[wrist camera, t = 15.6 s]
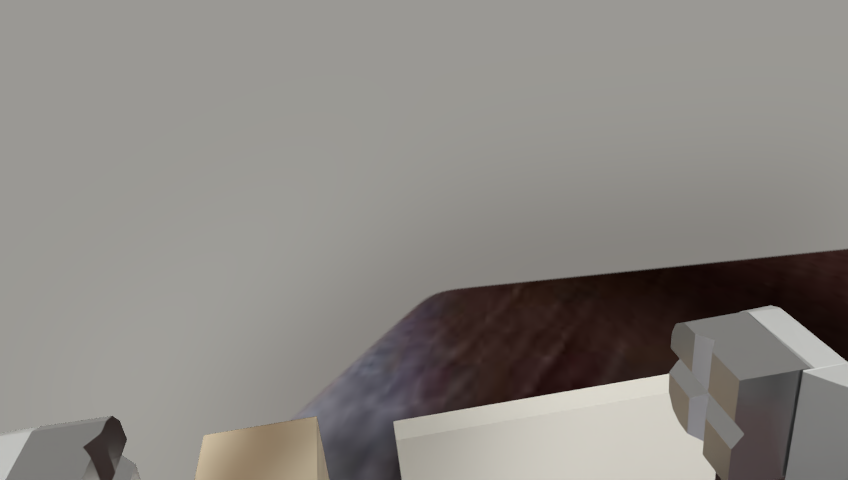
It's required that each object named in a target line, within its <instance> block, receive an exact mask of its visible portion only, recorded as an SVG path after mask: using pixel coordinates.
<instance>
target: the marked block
mask: <svg viewBox="0 0 848 480" xmlns="http://www.w3.org/2000/svg"><path fill="white" fill-rule="evenodd" d="M195 480H329V476H328V470H327V465H326V460H325V455H324V450H323V445H322V440H321V435H320V430H319V425H318V420H317V416H315V417H309V418H303V419H297V420H291V421H286V422H280V423H274V424H269V425H262V426H256V427H250V428H244V429H238V430H232V431H226V432H220V433H214V434H208V435H204V437H203V442H202V447H201V451H200V456H199V461H198V465H197V470H196V475H195Z"/></svg>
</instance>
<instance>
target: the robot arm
mask: <svg viewBox="0 0 848 480" xmlns="http://www.w3.org/2000/svg"><path fill="white" fill-rule="evenodd" d="M671 348H672V350H673V351H674V352H675V353H676V354H677V356H678V357H679V358H680V359H679V360H678V361H677V363H676V364H675V365H674V367H673V368H672V369H671V371H670V372H669V394H670V399H671V403H672V408H673V411H674V413H675V415H676V417H677V419H678V421H679V423H680V424H681V426H682V427H683V428H684V430H685V431H686V433H687V434H689V435H691V436H693V437H696V438H698V439H700V440H702V441H704V442H703V456H704V457H705V458H706V460H707V461H708V462H709V464H710V465H711V466H712V468H713V469H714V470H715V472H716V473H717V474H718V475H719V477H720V478H721V479H722V480H773V479H780V478H785V480H848V362H847V361H846V360H844V359H843V358H842V357H841V356H839V355H838V354H837V353H836V352H834V351H833V350H832V349H831V348H830V347H828V346H827V345H826V344H825V343H823V342H822V341H821V340H820V339H818V338H817V337H816V336H815V335H813V334H812V333H811V332H810V331H808V330H807V329H806V328H805V327H803V326H802V325H801V324H800V323H798V322H797V321H796V320H795V319H794V318H792V317H791V316H790V315H789V314H787V313H786V312H785V311H784V310H782V309H781V308H779V307H775V306H771V305H770V306H765V307H760V308H755V309H750V310H745V311H740V312H739V313H734V314H728V315H722V316H717V317H711V318H706V319H700V320H695V321H689V322H683V323H678V324H676V325H675V327H674V330H673V332H672V340H671ZM126 440H127V439H126V436H125V433H124V431H123V428H122V426H121V423H120V421H119V420H118V419H116V418H114V417H113V416H110V417H103V418H96V419H88V420H81V421H75V422H68V423H61V424H54V425H47V426H40V427H39V428H36V427H34V428H27V429H21V430H15V431H10V432H3V433H1V434H0V480H140V477H139V473H138V471H137V467H136V465H135V464H134V463H133V462H131V461H130V460H128V459H127V458H125V457H124V456H122V452H123V449H124V446H125V443H126Z"/></svg>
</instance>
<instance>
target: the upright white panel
mask: <svg viewBox="0 0 848 480" xmlns="http://www.w3.org/2000/svg"><path fill="white" fill-rule="evenodd" d="M393 423H394V430H395V437H396V444H397V451H398V458H399V465H400V472H401V479H402V480H715V474H716V472H715V470H714V469H713V468H712V466H711V465H710V464H709V462H708V461H707V460H706V458H705V457H704V456H703V442H704V441H702V440H700V439H698V438H696V437H693V436H691V435H689V434H687V433H686V431H685V430H684V428H683V427H682V426H681V424H680V423H679V421H678V419H677V417H676V415H675V413H674V411H673V408H672V403H671V399H670V394H669V374H666V375H660V376H654V377H648V378H642V379H637V380H631V381H625V382H619V383H613V384H608V385H602V386H596V387H590V388H585V389H579V390H573V391H567V392H561V393H556V394H550V395H544V396H538V397H532V398H527V399H521V400H515V401H509V402H503V403H498V404H492V405H486V406H480V407H474V408H469V409H463V410H457V411H451V412H445V413H440V414H434V415H428V416H422V417H416V418H411V419H405V420H399V421H393Z"/></svg>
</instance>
